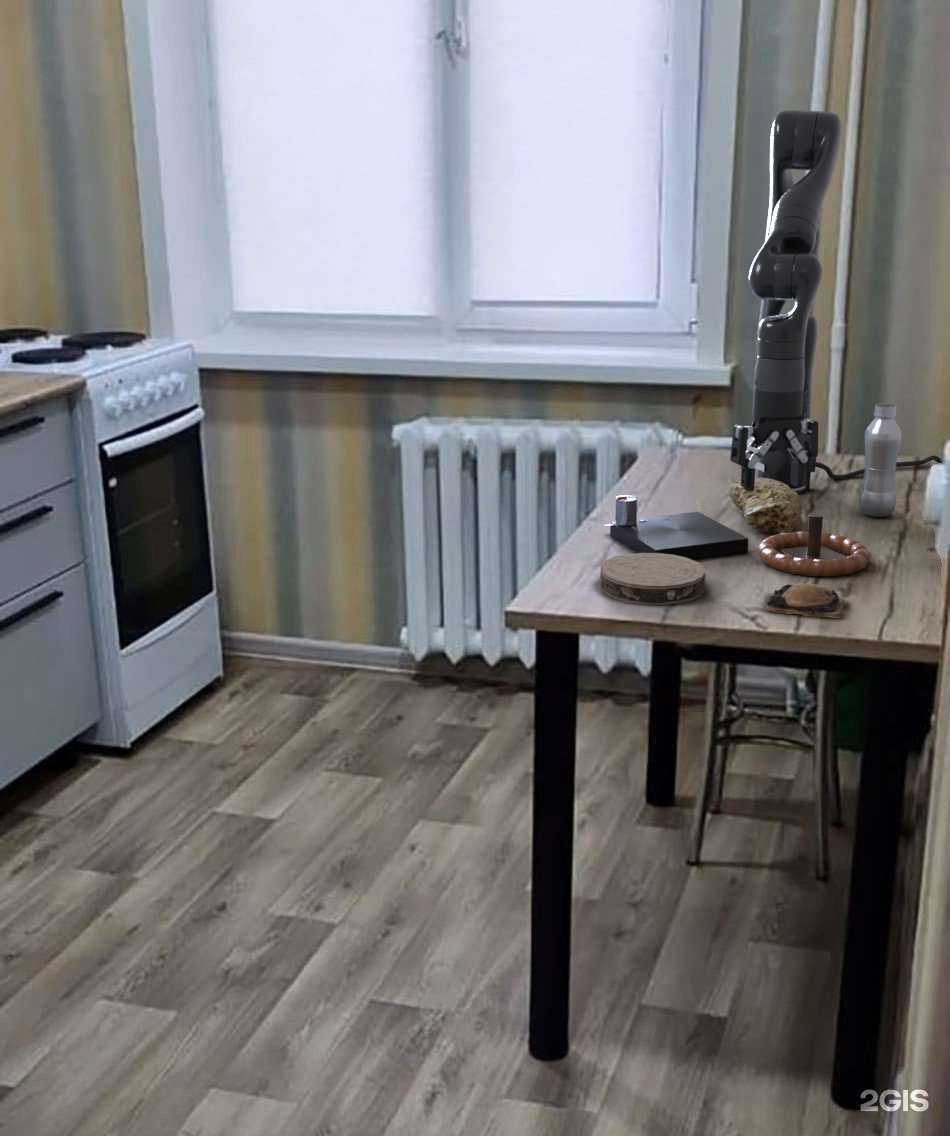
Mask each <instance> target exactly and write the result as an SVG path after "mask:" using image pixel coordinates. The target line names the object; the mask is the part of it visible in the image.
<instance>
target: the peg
mask: <svg viewBox="0 0 950 1136" xmlns="http://www.w3.org/2000/svg"><path fill="white" fill-rule="evenodd" d="M808 514H809V515H808V525H807V532H808V537H807V546H804V547H795V548H787V549H781V550H779V551H778V552H780V553H781V554H785V555H789V556H793V557H797V558H805V559H813V560H833V559H840V558H846V557H847V556H845V555H843V554H841V553H840V552H838V551H834V550H831V549H829V548H827V547H825V546H823V545H821V539H822V533H823V524H824V515H823V514H822V513H818V512H817V513H815V512H813V513H808Z"/></svg>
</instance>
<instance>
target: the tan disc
mask: <svg viewBox="0 0 950 1136" xmlns="http://www.w3.org/2000/svg"><path fill="white" fill-rule="evenodd" d="M599 576H600V579H599V582H600V583H599V587H600V588H599V589H600V590H601V591H602V592H603V594H605V596H608V597H611V598H612V599H615V600H617V601H621V602H626V603H630V604H637V605H645V606H668V605H677V604H683V603H687V602H691V601H694V600H696V599H698V598H700V597H701V596H702V595H703V594H704V592H705V583H706V570H705V567H704V565H702V564H701V563H700V562H698V561H696V560H691V559H689V558H686V557H681V556H677V555H671V554H662V553H637V552H635V553H626V554H621V555H616V556H613V557H611V558H608V559H606V560H604V561H603V562H602V563H601V564H600V575H599Z"/></svg>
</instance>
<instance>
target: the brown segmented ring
mask: <svg viewBox="0 0 950 1136" xmlns="http://www.w3.org/2000/svg"><path fill="white" fill-rule="evenodd" d="M807 537H808V531H791V532H788V533H781V534H778V533H777V534H774V535H771V536H768V537H766V538H764V539H763V541H762V542H761V543H759V545H758V547H757V554H758V556H759V559H760V560H761V562H762V563H764V564H766V565H767V566H769V567H771V568H773V569H774V570H778V571H781V572H784V573H789V574H792V575H800V576H808V577H838V576H845V575H851V574H853V573H856V572H859V571H862V570H863V569H865V568H866V567H867V565H868V563H869V562H870V560H871V553H870V552H869V550H868V548H867V547H866V546H865V544H863V543H861V542H859V541H857V540H855V539H853V538H851V537H846V536H844V535H839V534H835V533H828V532H822V539H821V545H823V546H825V547H827V548H829V549H831V550H833V551H835V552H837V553H843V554H845V555H847V556H845V557H846V558H840V559H833V560H813V559H805V558H797V557H793V556H789V555H785V554H781V553H780V552H778V551H779V550H781V549H788V548H796V547H804V546H807Z"/></svg>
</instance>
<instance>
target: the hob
mask: <svg viewBox="0 0 950 1136" xmlns="http://www.w3.org/2000/svg"><path fill="white" fill-rule="evenodd" d="M604 527H609V536H610V537H612V538H613V539H615V540H616V541H618V542H619V543H621V544H622V545H624V546H626V547H627V548H628V549H630V550H632V551H633V552H635V553H662V554H671V555H677V556H681V557H686V558H689V559H691V560H694V561H696V560H703V559H710V558H711V559H712V558H718V557H727V556H733V555H742V554H748V553H749V537H747V536H745V535H743V534H741V533H739V532H737V531H735V530H733V529H732V528H730V527H728V526H726V525H724V524H723V523H721V522H718V521H717V520H715V519H713V518H711V517H709V516H707V515H705V514H703V513H702V512H700V511H692V512H684V513H683V512H682V513H675V514H666V515H657V516H649V517H640V518H637V523H636V525H633V526H620V525H617V524H616V523H615V520H614V521H610V523H609V524H604Z"/></svg>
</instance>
